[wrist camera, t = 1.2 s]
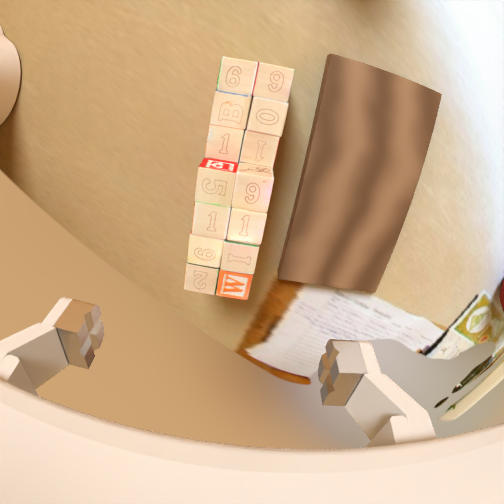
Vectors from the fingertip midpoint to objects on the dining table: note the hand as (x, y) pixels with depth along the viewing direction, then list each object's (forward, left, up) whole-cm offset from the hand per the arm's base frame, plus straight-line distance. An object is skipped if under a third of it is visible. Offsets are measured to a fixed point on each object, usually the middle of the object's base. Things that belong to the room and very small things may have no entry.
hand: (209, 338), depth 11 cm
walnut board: (+14, -1, -28) cm, 32 cm away
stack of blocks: (0, 0, -29) cm, 29 cm away
